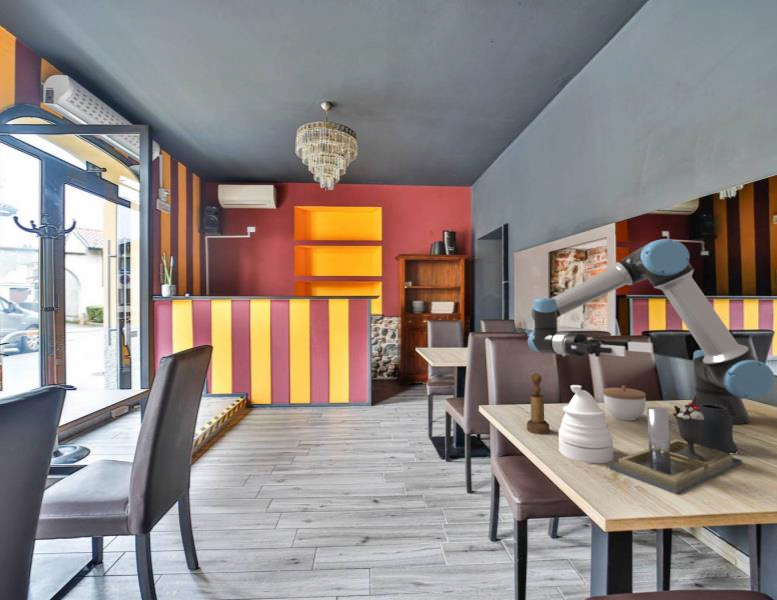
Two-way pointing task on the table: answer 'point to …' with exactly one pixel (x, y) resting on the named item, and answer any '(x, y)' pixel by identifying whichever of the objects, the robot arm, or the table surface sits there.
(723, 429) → the mug
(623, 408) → the lidded bowl
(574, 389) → the honey pot
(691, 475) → the olive compartment tray
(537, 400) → the brown pedestal figurine
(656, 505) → the table surface
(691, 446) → the sundae
